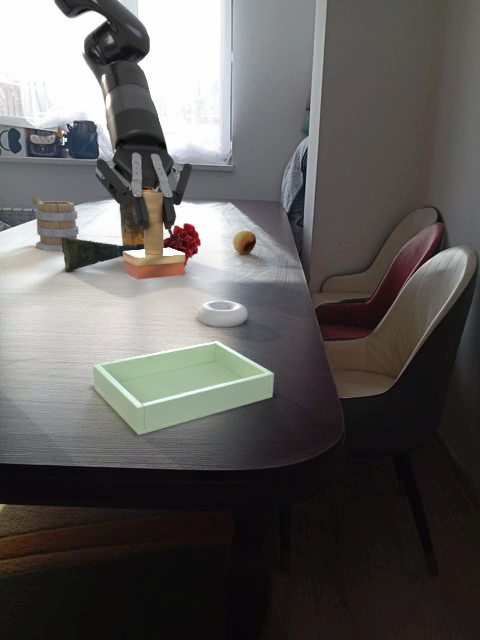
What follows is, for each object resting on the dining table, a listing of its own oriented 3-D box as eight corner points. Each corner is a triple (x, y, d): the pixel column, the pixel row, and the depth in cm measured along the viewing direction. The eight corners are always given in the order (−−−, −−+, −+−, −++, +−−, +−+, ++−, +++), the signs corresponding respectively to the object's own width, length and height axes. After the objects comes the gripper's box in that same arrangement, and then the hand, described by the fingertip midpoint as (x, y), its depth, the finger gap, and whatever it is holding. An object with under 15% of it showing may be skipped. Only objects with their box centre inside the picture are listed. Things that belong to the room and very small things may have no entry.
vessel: (148, 259, 155) (146, 190, 148) (108, 254, 159) (104, 186, 152) (172, 252, 167) (171, 188, 160) (134, 247, 172) (132, 185, 165)
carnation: (69, 301, 136) (198, 288, 147) (63, 267, 119) (209, 256, 131) (62, 249, 140) (188, 241, 152) (55, 209, 124) (197, 203, 135)
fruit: (256, 253, 174) (257, 229, 171) (253, 257, 166) (254, 232, 163) (234, 251, 174) (235, 227, 171) (230, 256, 166) (231, 231, 164)
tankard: (88, 248, 165) (84, 200, 160) (50, 252, 156) (45, 201, 151) (56, 240, 177) (52, 194, 172) (20, 243, 168) (14, 195, 163)
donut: (251, 330, 98) (242, 313, 107) (252, 312, 97) (243, 297, 106) (199, 331, 96) (194, 314, 105) (199, 313, 95) (194, 298, 104)
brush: (137, 279, 68) (134, 193, 64) (123, 272, 72) (119, 190, 68) (185, 274, 72) (185, 193, 68) (169, 268, 76) (169, 190, 72)
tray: (138, 437, 59) (137, 408, 58) (94, 390, 70) (92, 364, 69) (272, 398, 71) (274, 373, 69) (216, 363, 81) (217, 340, 80)
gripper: (85, 101, 68) (105, 207, 62) (187, 110, 73) (214, 208, 68) (82, 144, 74) (101, 243, 68) (177, 149, 80) (201, 242, 74)
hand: (157, 225), depth 68 cm, fingers closed on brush, 2 cm apart
